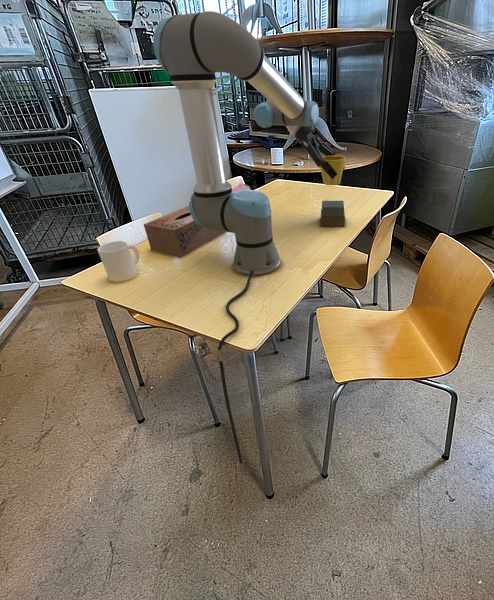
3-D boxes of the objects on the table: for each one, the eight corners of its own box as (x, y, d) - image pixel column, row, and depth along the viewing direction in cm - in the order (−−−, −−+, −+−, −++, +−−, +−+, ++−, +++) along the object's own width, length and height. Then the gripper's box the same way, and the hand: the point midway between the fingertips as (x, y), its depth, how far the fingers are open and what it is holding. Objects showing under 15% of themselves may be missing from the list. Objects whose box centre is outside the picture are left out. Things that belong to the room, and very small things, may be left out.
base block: (344, 226, 138) (345, 217, 136) (320, 226, 139) (320, 217, 137) (343, 218, 146) (344, 209, 144) (321, 218, 147) (321, 209, 145)
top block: (343, 216, 136) (344, 207, 134) (321, 217, 137) (321, 207, 135) (343, 209, 144) (343, 200, 142) (322, 209, 144) (322, 200, 142)
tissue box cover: (180, 257, 117) (174, 230, 112) (151, 250, 123) (143, 224, 117) (226, 231, 137) (222, 207, 131) (198, 226, 142) (193, 203, 137)
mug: (134, 263, 114) (124, 235, 108) (151, 268, 111) (143, 238, 105) (103, 279, 105) (91, 249, 99) (121, 284, 102) (110, 254, 96)
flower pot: (314, 182, 137) (314, 156, 131) (336, 179, 140) (337, 154, 135) (326, 188, 129) (326, 161, 123) (349, 184, 132) (350, 158, 127)
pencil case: (234, 214, 154) (231, 194, 150) (216, 212, 157) (213, 193, 152) (254, 200, 171) (252, 182, 166) (238, 199, 174) (235, 181, 169)
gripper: (304, 132, 139) (339, 173, 143) (282, 140, 121) (323, 187, 125) (316, 117, 134) (352, 160, 138) (295, 123, 116) (337, 173, 120)
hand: (338, 173), depth 131 cm, fingers closed on flower pot, 10 cm apart
